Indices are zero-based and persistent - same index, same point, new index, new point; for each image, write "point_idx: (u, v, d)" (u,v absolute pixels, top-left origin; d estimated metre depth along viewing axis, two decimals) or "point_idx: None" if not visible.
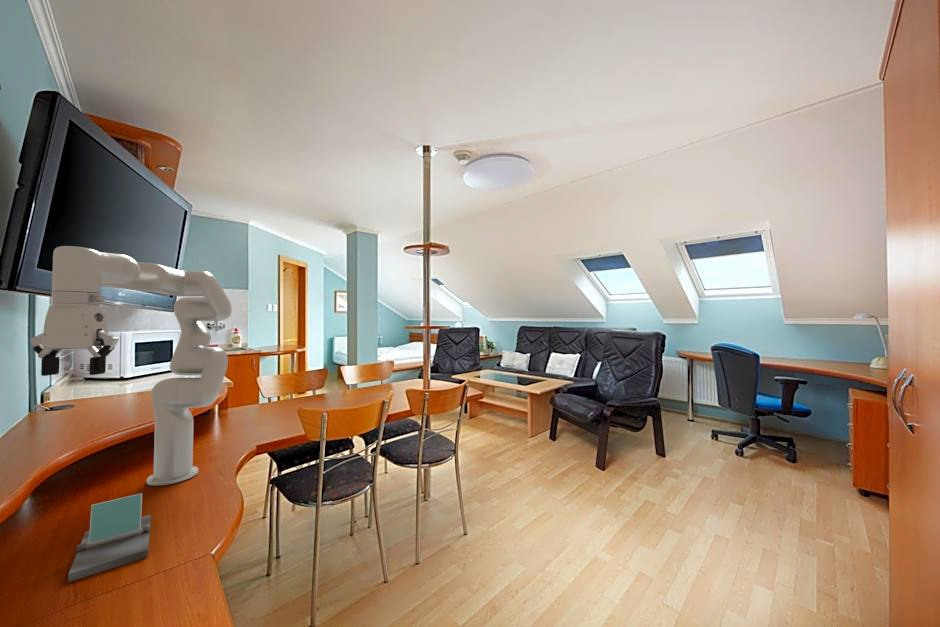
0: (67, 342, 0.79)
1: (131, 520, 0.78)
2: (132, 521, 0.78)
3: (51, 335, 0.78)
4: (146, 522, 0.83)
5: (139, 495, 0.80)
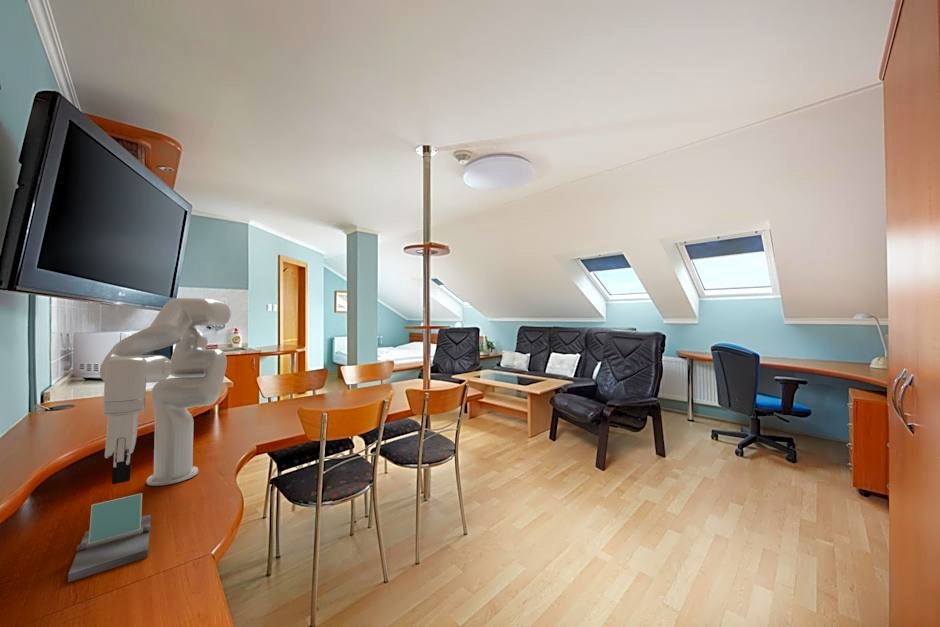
0: None
1: (131, 520, 0.78)
2: (132, 521, 0.78)
3: (134, 439, 0.87)
4: (146, 522, 0.83)
5: (139, 495, 0.80)
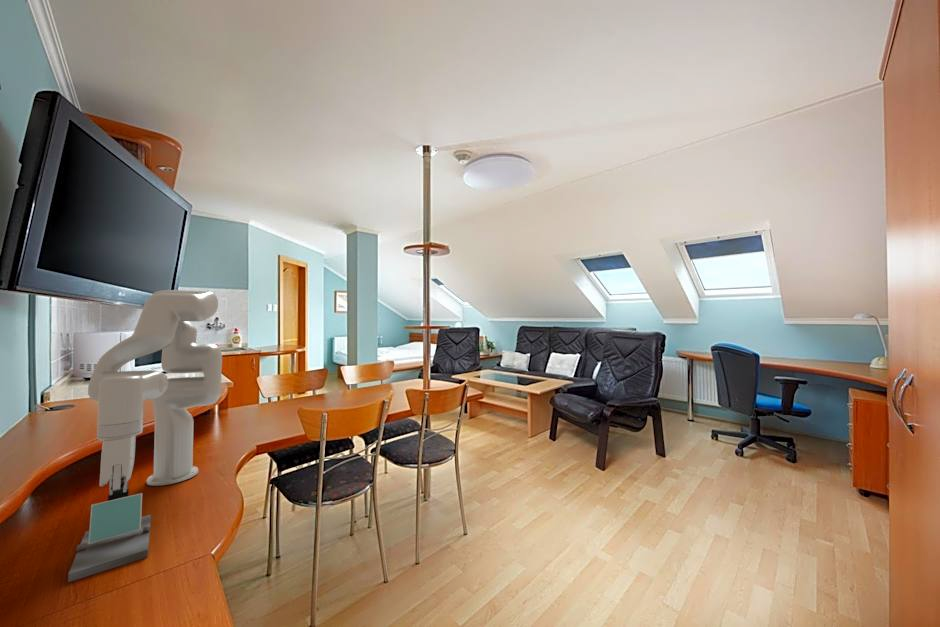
0: (132, 468, 0.82)
1: (131, 520, 0.78)
2: (132, 521, 0.78)
3: (132, 465, 0.80)
4: (146, 522, 0.83)
5: (139, 495, 0.80)
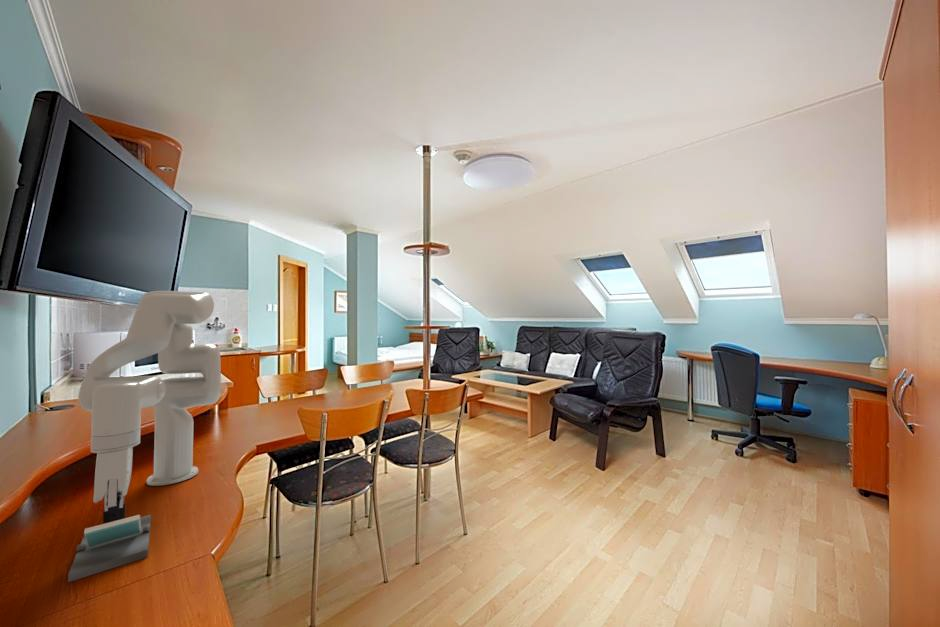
0: None
1: (130, 531, 0.76)
2: (131, 532, 0.76)
3: (129, 478, 0.74)
4: (146, 522, 0.83)
5: (136, 521, 0.74)
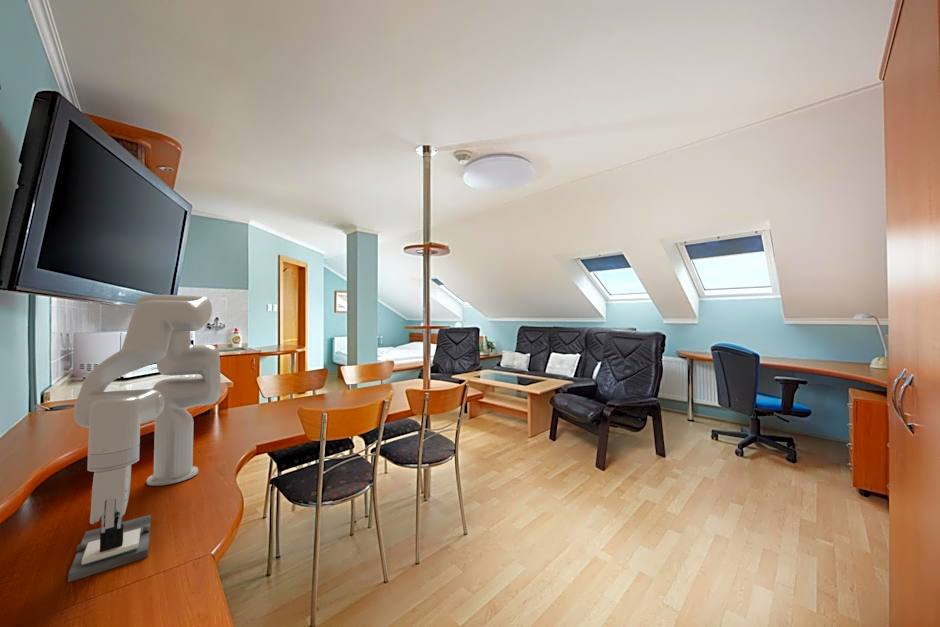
0: None
1: None
2: None
3: (127, 498, 0.71)
4: (146, 522, 0.83)
5: (135, 548, 0.73)
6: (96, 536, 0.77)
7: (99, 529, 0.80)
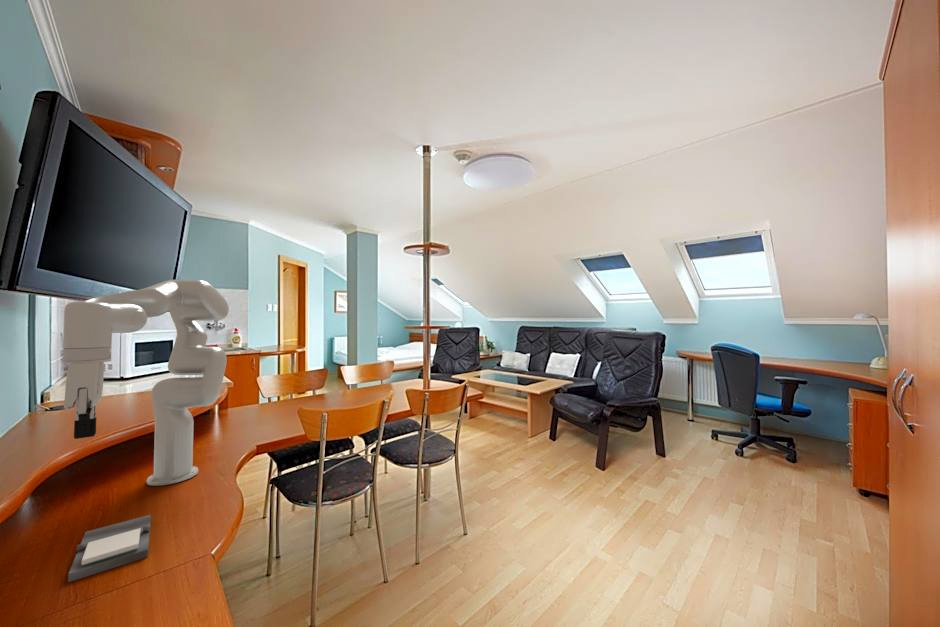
0: (100, 396, 0.81)
1: None
2: None
3: (99, 391, 0.79)
4: (146, 522, 0.83)
5: (135, 548, 0.73)
6: (96, 536, 0.77)
7: (99, 529, 0.80)
